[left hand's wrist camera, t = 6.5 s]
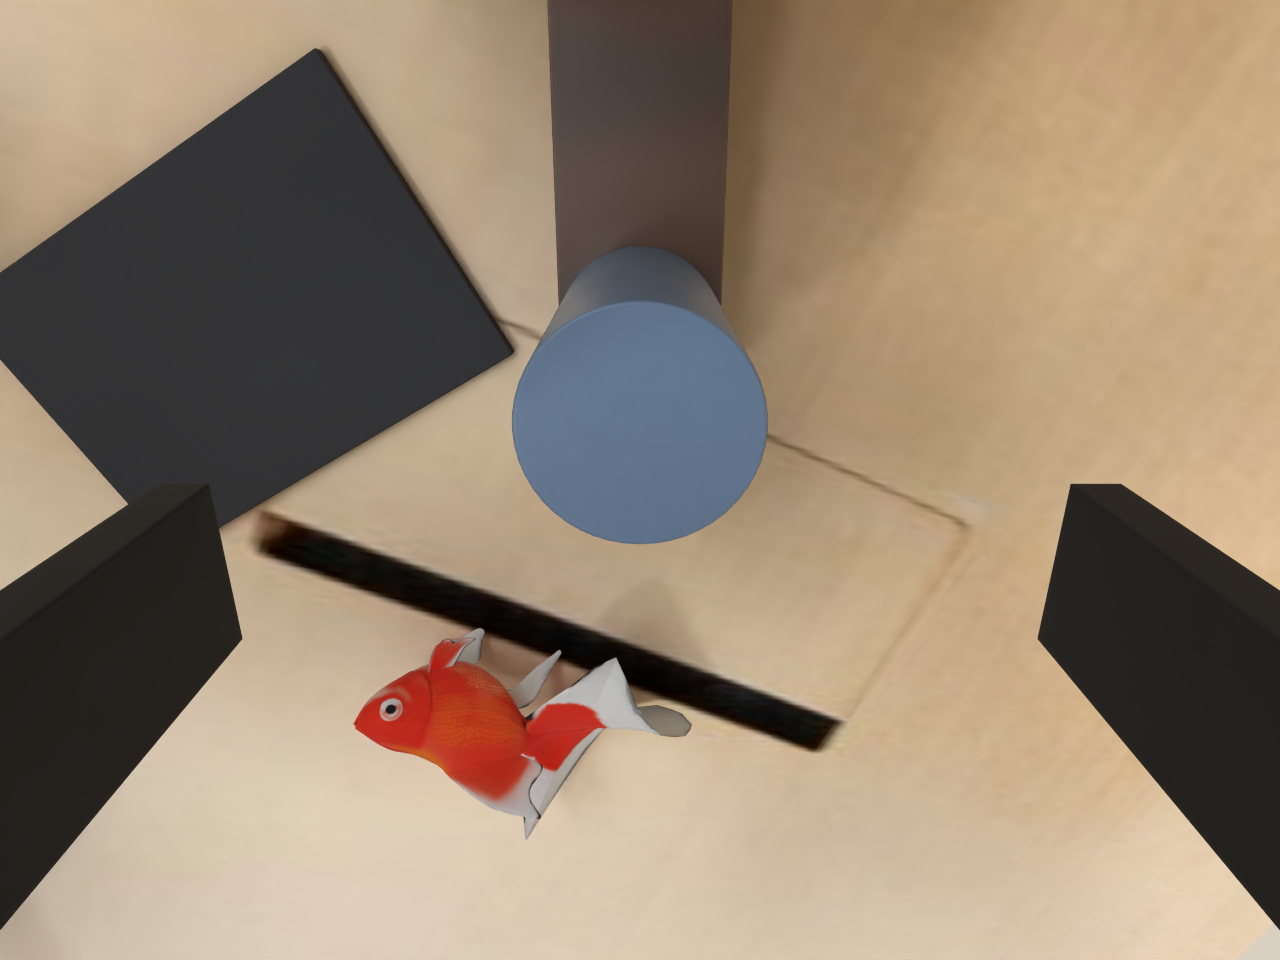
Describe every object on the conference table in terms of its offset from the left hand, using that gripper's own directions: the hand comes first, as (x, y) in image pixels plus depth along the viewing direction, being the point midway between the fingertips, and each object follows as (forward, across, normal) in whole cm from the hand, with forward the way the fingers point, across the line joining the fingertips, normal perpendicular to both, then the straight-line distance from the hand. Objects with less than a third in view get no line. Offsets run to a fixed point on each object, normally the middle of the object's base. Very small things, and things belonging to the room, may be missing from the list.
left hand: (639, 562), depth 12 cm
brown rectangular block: (+25, 0, -8) cm, 26 cm away
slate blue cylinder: (+19, 0, 0) cm, 19 cm away
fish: (+25, +5, +19) cm, 32 cm away
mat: (+25, +18, +1) cm, 30 cm away
